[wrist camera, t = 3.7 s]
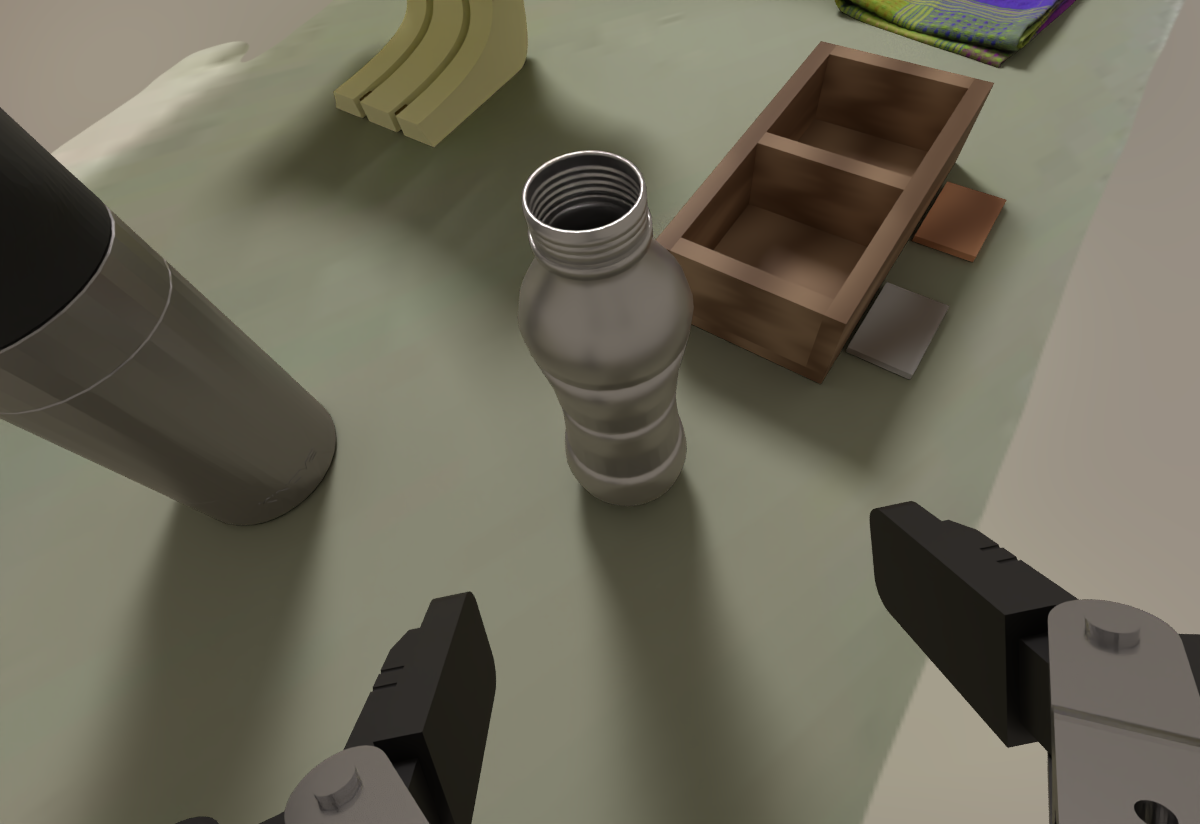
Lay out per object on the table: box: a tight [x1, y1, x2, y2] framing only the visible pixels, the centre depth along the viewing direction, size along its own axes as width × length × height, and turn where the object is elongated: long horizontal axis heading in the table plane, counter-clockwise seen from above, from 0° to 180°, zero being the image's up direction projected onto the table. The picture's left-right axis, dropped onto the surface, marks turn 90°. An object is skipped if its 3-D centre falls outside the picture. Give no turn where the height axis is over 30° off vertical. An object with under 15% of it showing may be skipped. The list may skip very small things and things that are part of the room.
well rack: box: [656, 41, 1006, 384], centre depth 38 cm, size 16×23×6 cm
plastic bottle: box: [518, 150, 694, 506], centre depth 26 cm, size 6×7×20 cm
